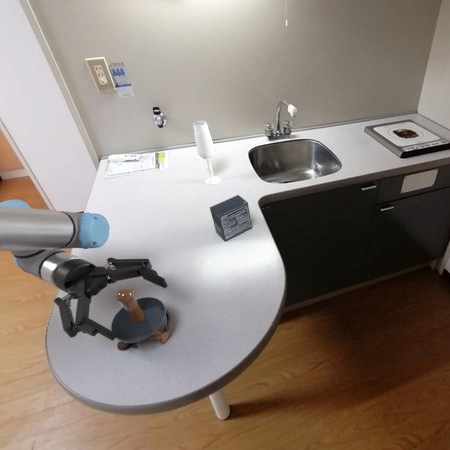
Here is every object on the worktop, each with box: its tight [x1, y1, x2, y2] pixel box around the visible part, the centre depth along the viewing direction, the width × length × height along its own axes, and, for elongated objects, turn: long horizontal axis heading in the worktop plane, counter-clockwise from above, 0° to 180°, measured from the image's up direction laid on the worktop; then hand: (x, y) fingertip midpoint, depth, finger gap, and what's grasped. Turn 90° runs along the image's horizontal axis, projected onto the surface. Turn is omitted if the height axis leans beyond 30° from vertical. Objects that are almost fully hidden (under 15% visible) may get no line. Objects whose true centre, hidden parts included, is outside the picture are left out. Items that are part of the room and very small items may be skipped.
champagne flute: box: [192, 120, 222, 186], centre depth 117 cm, size 7×7×24 cm
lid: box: [110, 287, 167, 343], centre depth 64 cm, size 11×11×10 cm
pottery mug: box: [116, 309, 173, 352], centre depth 70 cm, size 12×10×8 cm
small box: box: [209, 194, 253, 242], centre depth 98 cm, size 11×6×10 cm, turn 130°
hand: (140, 307), depth 62 cm, fingers open, 13 cm apart
